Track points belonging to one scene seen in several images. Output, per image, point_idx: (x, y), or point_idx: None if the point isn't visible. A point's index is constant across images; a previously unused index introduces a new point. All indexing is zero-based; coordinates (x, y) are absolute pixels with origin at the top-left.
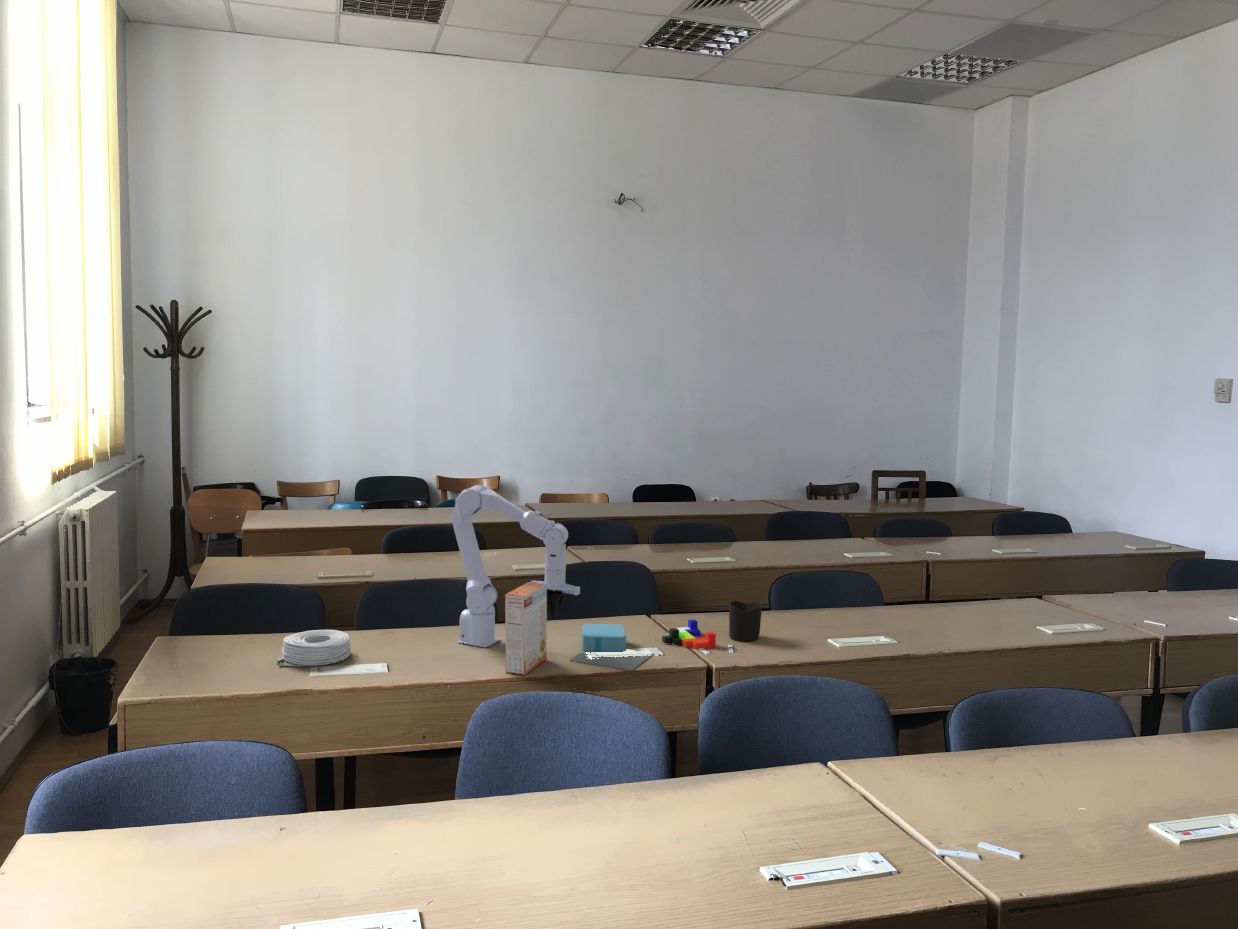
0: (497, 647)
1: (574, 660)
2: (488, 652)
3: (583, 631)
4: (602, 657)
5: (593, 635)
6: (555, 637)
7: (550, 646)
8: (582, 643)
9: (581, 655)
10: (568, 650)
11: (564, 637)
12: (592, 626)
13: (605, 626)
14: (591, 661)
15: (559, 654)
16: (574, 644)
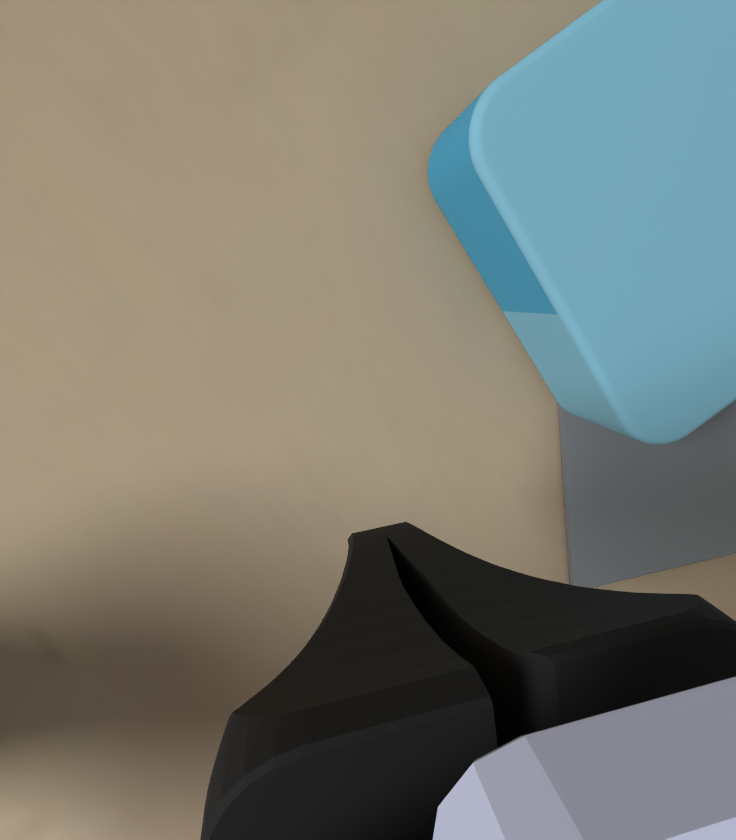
0: (7, 696)
1: (606, 583)
2: (47, 797)
3: (591, 344)
4: (723, 432)
5: (715, 389)
6: (177, 225)
7: (299, 442)
8: (586, 415)
9: (597, 483)
10: (457, 433)
11: (239, 177)
12: (588, 140)
13: (698, 54)
14: (697, 533)
15: (454, 534)
16: (416, 290)
